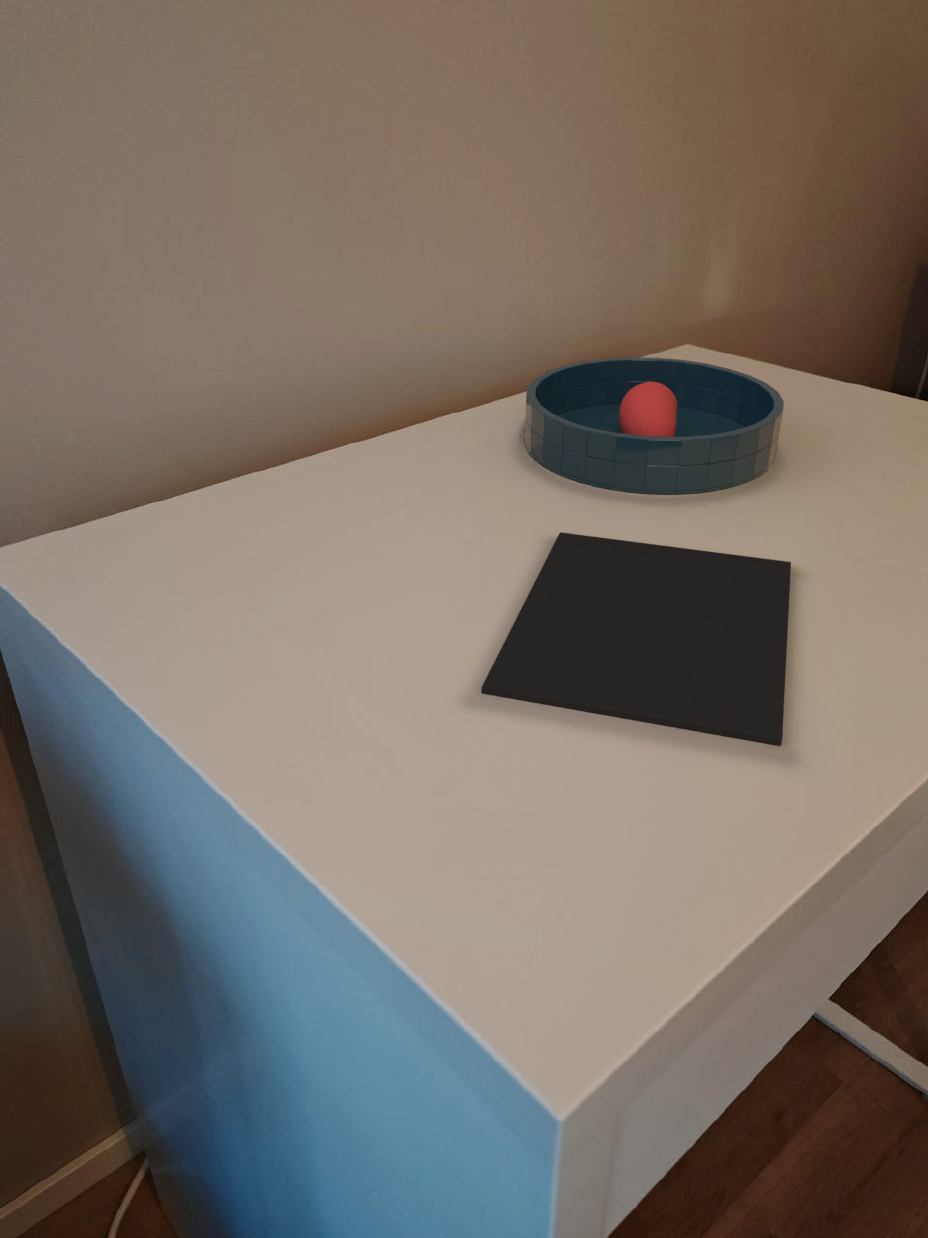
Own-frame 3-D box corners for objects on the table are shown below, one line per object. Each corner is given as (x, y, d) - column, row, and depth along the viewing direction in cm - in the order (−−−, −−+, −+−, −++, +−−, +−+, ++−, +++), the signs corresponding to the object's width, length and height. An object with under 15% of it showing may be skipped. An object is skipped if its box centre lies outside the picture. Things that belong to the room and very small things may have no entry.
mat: (790, 566, 66) (791, 561, 65) (781, 746, 49) (782, 739, 49) (559, 536, 70) (559, 531, 70) (481, 693, 53) (481, 687, 53)
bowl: (779, 414, 91) (787, 367, 89) (769, 508, 74) (779, 452, 71) (555, 394, 97) (556, 349, 94) (496, 476, 79) (497, 424, 77)
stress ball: (594, 463, 84) (617, 413, 79) (622, 396, 89) (646, 346, 84) (648, 487, 84) (676, 439, 78) (674, 419, 89) (702, 370, 83)
